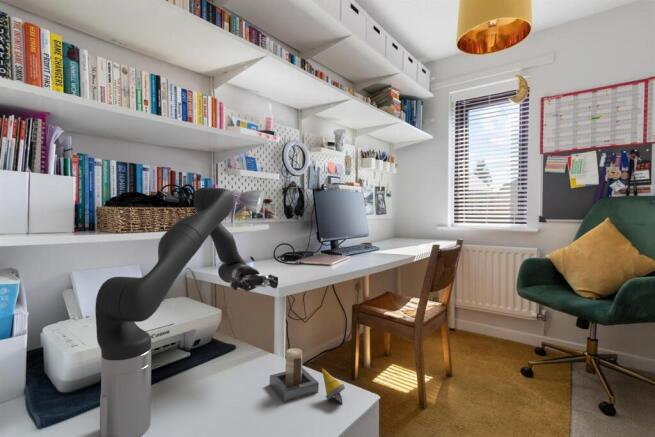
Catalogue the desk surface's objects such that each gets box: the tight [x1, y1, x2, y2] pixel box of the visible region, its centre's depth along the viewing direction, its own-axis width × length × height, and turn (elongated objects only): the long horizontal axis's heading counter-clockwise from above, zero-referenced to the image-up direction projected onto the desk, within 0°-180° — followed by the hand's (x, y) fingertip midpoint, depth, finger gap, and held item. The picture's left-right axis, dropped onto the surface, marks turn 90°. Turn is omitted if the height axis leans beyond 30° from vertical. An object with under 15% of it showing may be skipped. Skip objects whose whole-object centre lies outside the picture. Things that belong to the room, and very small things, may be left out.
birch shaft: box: [284, 347, 303, 388], centre depth 90 cm, size 4×4×10 cm
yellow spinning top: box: [321, 367, 346, 405], centre depth 85 cm, size 5×5×10 cm
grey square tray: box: [269, 367, 320, 403], centre depth 90 cm, size 10×10×3 cm
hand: (262, 286), depth 97 cm, fingers open, 8 cm apart
